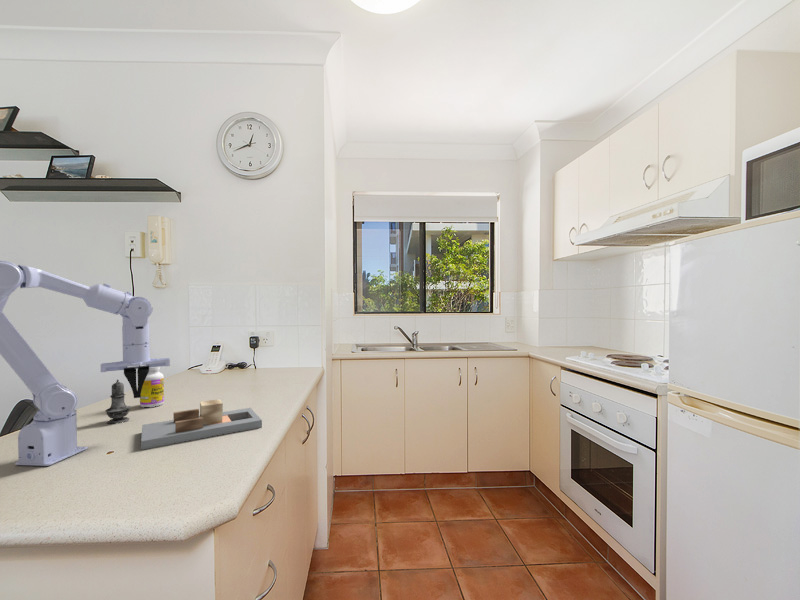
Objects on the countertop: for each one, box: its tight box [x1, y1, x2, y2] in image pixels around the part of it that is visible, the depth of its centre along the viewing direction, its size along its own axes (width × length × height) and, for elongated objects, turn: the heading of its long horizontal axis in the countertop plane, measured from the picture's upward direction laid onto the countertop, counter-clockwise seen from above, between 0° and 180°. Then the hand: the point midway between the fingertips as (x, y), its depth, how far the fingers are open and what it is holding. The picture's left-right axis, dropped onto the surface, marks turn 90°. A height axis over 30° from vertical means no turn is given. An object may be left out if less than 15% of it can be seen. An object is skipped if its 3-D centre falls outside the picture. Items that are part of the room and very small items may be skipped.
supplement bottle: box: [139, 366, 165, 408], centre depth 128 cm, size 7×7×13 cm
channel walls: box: [173, 408, 203, 433], centre depth 101 cm, size 6×10×2 cm, turn 33°
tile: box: [208, 415, 231, 425], centre depth 105 cm, size 6×7×2 cm
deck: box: [140, 407, 263, 451], centre depth 103 cm, size 27×14×2 cm, turn 123°
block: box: [199, 398, 224, 425], centre depth 104 cm, size 5×5×5 cm
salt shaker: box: [105, 379, 131, 425], centre depth 112 cm, size 6×6×12 cm
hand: (137, 397), depth 99 cm, fingers closed
